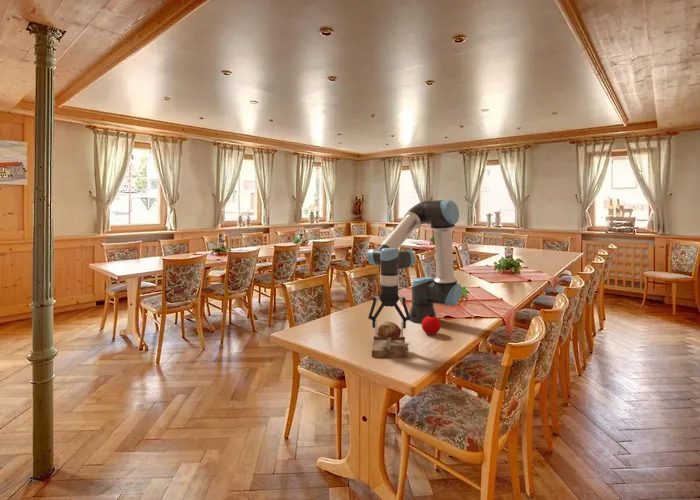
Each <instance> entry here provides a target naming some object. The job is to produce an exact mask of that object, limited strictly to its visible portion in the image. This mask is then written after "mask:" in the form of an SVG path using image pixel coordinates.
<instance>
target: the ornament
mask: <svg viewBox="0 0 700 500" xmlns="http://www.w3.org/2000/svg"><path fill="white" fill-rule="evenodd" d="M441 325H442V324H441V321H440V319H439V318H438V317H437V318H436V317H435V316H433V314H429V316H427V317H425V318H424V319H423V321H422V323H421V329H422V331H423V332H424V333H425V334H427V335H429V336H431V335H432V336H433V335H436V334H438V333H439V331H441Z"/></svg>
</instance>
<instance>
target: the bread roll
mask: <svg viewBox="0 0 700 500" xmlns="http://www.w3.org/2000/svg"><path fill="white" fill-rule="evenodd" d="M377 336H379V337H380V338H382V339H387V338H388V337H391V339H397V338H399V337H401V327H400V326H398V324H397V323H395V322H392V321H383V322H382V323H381V324H380V325H379V326H377Z"/></svg>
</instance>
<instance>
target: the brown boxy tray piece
mask: <svg viewBox="0 0 700 500" xmlns="http://www.w3.org/2000/svg"><path fill="white" fill-rule="evenodd" d="M405 339H406V336H403V337H401V336H400V337H399V338H397V339H391V337H388V338H387V339H382V338H380V337H379V336H378V335H377V336H375V335H374V336H373V341H372V348H371V357H375V358H377V357H379V358H407V349H406V348H407V346H406V340H405Z"/></svg>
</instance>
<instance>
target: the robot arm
mask: <svg viewBox="0 0 700 500" xmlns="http://www.w3.org/2000/svg"><path fill="white" fill-rule="evenodd" d="M459 218H460V210H459V207H458V205H457V204H456V202H455V201H453V200H449V199H448V200H447V199H440V200H439V199H438V200H423V201H421V202H418V203H417V204H415V205H414V206H413V207H411V208H409V210H407V212H405V214H404V215H403V219H402V220H401V221H400V222H399V223H398V224H397V225H396V227H395V228H394V229H393V230H392V232H391V233H390V234H389V235H388V236H387V237H386V238H385V239H384V240H383V241H382V242H381V244H380V245H379V246H378V247H377V248H371V249H369V251H368V252H367V255H366V259H367V262H368V264H369V265H374V266H377V267H378V266H380V275H379V277H380V280H379V281H380V288H379V289H380V291H379V293H380V295H379V296H376V295H373V297H372V305H371V308H370V311H369V313H368V318H367V319H368V320H371V321H372V325H371V326H372V329H374V336H378V335H377V334H378V319H377V318H378V316H379V315H380V313H381V312H382V310H383V308H384V307H394V308H395V310H396V312H398V315H399V316H400V318H401V319H400V329H401V335H400V337H404V330H405V329H406V328H407V327H406V326H407V321H410V322H412V323H417V324H422V321H423V319H424V318H425V317H427V316H429V314H433V316H435V317H436V318H438V316H437V312H436V310H435V307H434V305H435V304H437V305H438V304H439V305H444V306H452V307H453V306H456V305H457V304H458V303H459V301H460V299H461V297H462V295H463V294H462V292H463V288H462V285H461V284H460V283H458V279H457V277H456V276H455V275H454V255H453V254H454V252H453V232H452V231H453V229H454V228H455V227H456V226H455V224H457V223H458V222H459ZM424 224H430V229H432V230H433V233H434V236H433V237H434V249H435V250H434V252H435V253H434V254H435V255H434V256H435V270H436V271H435V272H436V273H435V274H436V276H435V277H433V276H423V277H417V278H413V280H412V281H411V307H410V310H408V306H407V304H406V296H399V285H398V284H399V270H401V269H408V268H410V267H412V266H414V265H415V263H416V259H417V258H416V255H415V253H414V252H413V251H412V250H405V249H404V250H399V248H400V247H402V245H403V244H404V243H405V241H406V240H407V239H408V238H409V237H410V235H411V234H412V233H413V232H414V230H416V229H418V228H419V227H421V226H422V225H424ZM379 301H380V302H381V304H380V305H379V307H378V309H377V310H376V312H375V313H374V310H375V307H376V305H377V302H379ZM399 301H400V302H401V303H402V306H403V310H404V312H405V315H406V316H405V315H404V313H403V312H402V310H401V308H400V307H399V305H398V302H399ZM373 313H374V315H373Z"/></svg>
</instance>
